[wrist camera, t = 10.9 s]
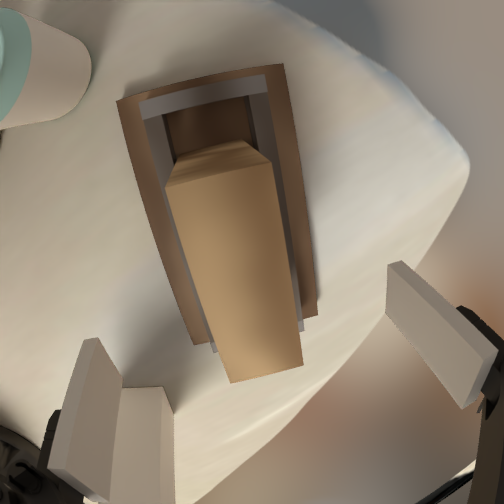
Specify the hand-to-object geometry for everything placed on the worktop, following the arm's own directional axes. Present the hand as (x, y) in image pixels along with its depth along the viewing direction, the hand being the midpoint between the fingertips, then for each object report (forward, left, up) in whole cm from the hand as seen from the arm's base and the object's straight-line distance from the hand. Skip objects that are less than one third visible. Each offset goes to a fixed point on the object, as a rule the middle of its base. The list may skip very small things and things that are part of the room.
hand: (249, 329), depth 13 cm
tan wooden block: (0, 0, -13) cm, 13 cm away
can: (-11, +15, -14) cm, 23 cm away
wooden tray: (0, 0, -14) cm, 14 cm away
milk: (-15, -20, -14) cm, 28 cm away
